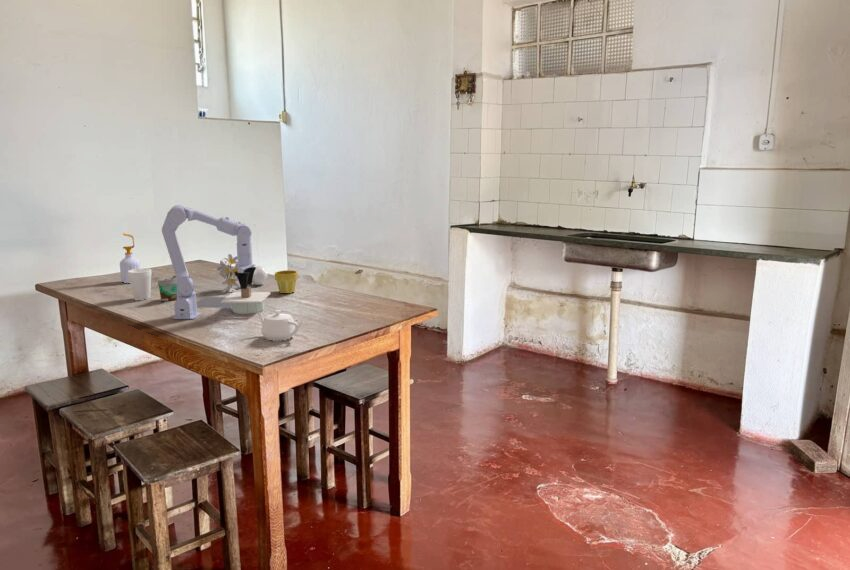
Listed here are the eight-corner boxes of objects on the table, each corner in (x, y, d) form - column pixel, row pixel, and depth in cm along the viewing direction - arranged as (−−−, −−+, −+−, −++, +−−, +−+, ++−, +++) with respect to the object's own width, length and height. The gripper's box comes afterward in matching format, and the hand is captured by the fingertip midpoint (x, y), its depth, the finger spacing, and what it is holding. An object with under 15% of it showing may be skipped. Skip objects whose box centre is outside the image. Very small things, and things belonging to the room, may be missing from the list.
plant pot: (274, 290, 293) (273, 270, 291) (296, 289, 296) (295, 269, 294) (276, 295, 284) (275, 275, 281) (299, 294, 287) (298, 273, 285)
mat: (231, 308, 262) (231, 307, 262) (189, 308, 262) (189, 307, 262) (244, 298, 279) (243, 297, 279) (204, 298, 279) (204, 297, 279)
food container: (172, 303, 269) (170, 281, 267) (159, 303, 270) (157, 280, 268) (188, 297, 281) (186, 275, 278) (175, 296, 282) (174, 275, 280)
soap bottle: (121, 281, 313) (116, 232, 308) (141, 279, 317) (136, 231, 312) (121, 284, 306) (116, 235, 300) (141, 282, 309) (136, 234, 304)
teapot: (245, 337, 223) (244, 310, 220) (271, 328, 233) (269, 302, 231) (286, 346, 212) (284, 318, 210) (311, 337, 222) (310, 310, 220)
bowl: (259, 315, 251) (258, 302, 250) (227, 315, 251) (226, 301, 250) (267, 306, 264) (266, 294, 263) (237, 306, 264) (236, 294, 263)
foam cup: (126, 299, 275) (123, 271, 272) (144, 295, 283) (141, 267, 280) (140, 302, 271) (137, 273, 268) (158, 298, 279) (155, 269, 276)
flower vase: (255, 296, 310) (212, 293, 290) (256, 260, 312) (213, 254, 292) (272, 295, 303) (229, 291, 282) (273, 258, 304) (231, 251, 284)
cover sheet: (260, 302, 249) (260, 291, 248) (221, 302, 249) (220, 291, 248) (270, 293, 264) (270, 283, 263) (233, 293, 264) (232, 283, 263)
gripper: (249, 257, 245) (251, 290, 248) (259, 251, 259) (260, 282, 262) (231, 257, 245) (233, 290, 248) (242, 251, 259) (244, 282, 262)
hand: (246, 286), depth 255 cm, fingers open, 7 cm apart
